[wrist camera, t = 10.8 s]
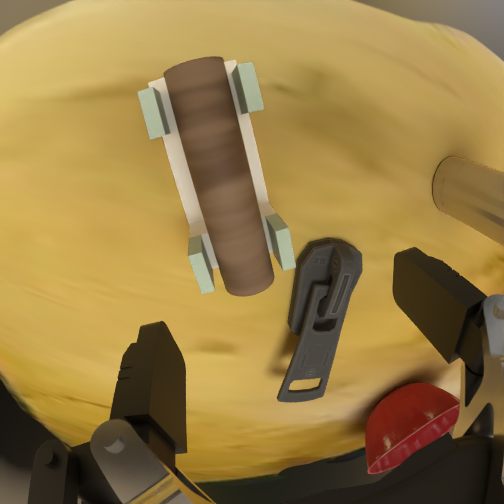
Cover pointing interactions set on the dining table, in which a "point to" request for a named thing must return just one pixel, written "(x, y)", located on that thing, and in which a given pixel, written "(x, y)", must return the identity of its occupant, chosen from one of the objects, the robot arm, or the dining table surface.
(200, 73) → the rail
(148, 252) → the dining table surface
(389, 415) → the mixing bowl
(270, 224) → the white cradle stand
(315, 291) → the zipper pull
